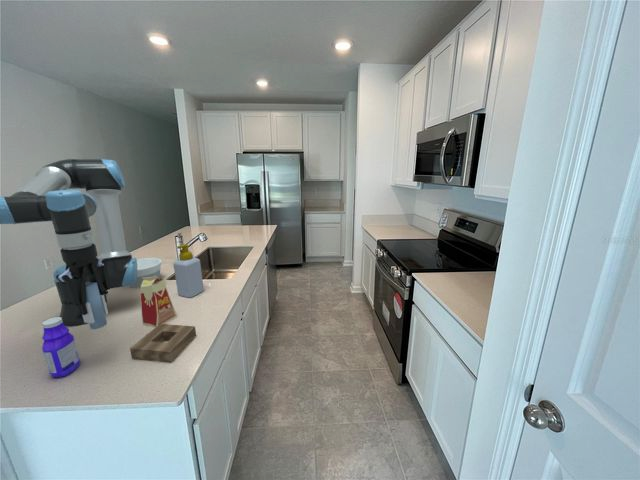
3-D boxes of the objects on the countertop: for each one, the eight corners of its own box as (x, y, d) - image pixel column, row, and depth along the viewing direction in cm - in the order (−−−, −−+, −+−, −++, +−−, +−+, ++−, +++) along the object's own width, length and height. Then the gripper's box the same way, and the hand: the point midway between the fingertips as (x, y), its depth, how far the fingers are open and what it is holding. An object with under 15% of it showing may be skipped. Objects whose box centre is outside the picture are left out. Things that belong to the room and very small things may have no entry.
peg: (86, 328, 81) (75, 286, 77) (98, 321, 84) (88, 281, 81) (98, 329, 80) (87, 287, 76) (110, 322, 84) (100, 281, 80)
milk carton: (177, 316, 111) (170, 272, 106) (157, 328, 103) (148, 281, 97) (160, 312, 114) (153, 269, 109) (140, 324, 106) (131, 277, 100)
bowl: (171, 280, 147) (168, 261, 144) (133, 293, 131) (128, 273, 128) (153, 272, 157) (150, 255, 154) (115, 284, 141) (111, 265, 138)
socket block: (132, 358, 87) (129, 348, 86) (161, 333, 100) (159, 323, 99) (171, 362, 85) (169, 351, 84) (196, 335, 98) (195, 326, 97)
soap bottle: (176, 295, 129) (169, 246, 122) (191, 287, 137) (185, 241, 130) (190, 298, 126) (183, 248, 119) (205, 290, 134) (199, 243, 127)
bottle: (66, 362, 85) (52, 314, 80) (85, 361, 85) (72, 313, 81) (46, 379, 78) (28, 328, 73) (66, 378, 78) (50, 327, 74)
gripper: (57, 256, 66) (80, 336, 73) (115, 238, 83) (130, 304, 89) (31, 255, 67) (56, 333, 74) (94, 237, 83) (109, 303, 90)
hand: (96, 317), depth 82 cm, fingers closed on peg, 4 cm apart
